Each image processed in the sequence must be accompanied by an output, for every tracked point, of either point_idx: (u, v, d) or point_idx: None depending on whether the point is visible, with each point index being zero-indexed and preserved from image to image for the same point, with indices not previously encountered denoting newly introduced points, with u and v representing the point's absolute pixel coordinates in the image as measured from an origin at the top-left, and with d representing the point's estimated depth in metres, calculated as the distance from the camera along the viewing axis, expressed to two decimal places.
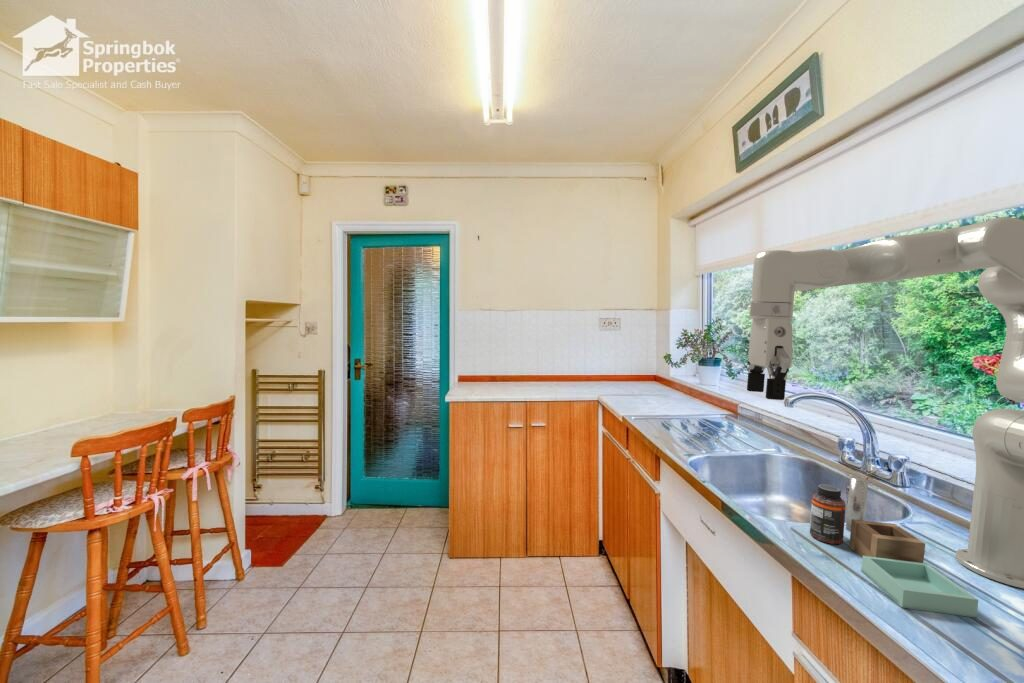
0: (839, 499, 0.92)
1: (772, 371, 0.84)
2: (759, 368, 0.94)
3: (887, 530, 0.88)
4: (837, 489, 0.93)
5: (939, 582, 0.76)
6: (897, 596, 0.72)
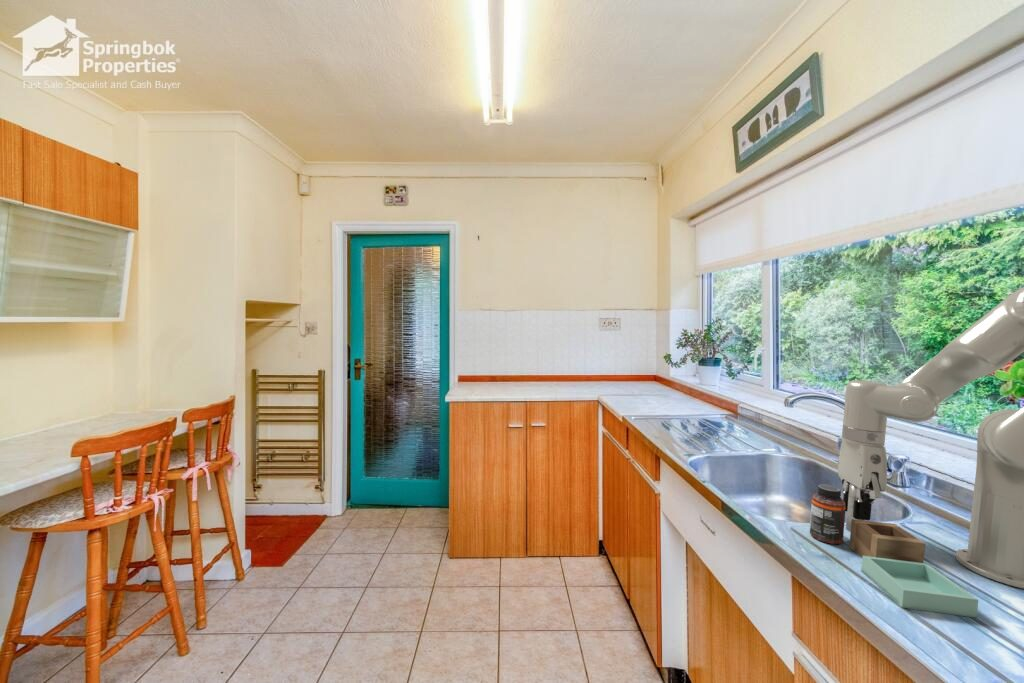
0: (839, 499, 0.92)
1: (861, 497, 0.95)
2: None
3: (887, 530, 0.88)
4: (837, 489, 0.93)
5: (939, 582, 0.76)
6: (897, 596, 0.72)
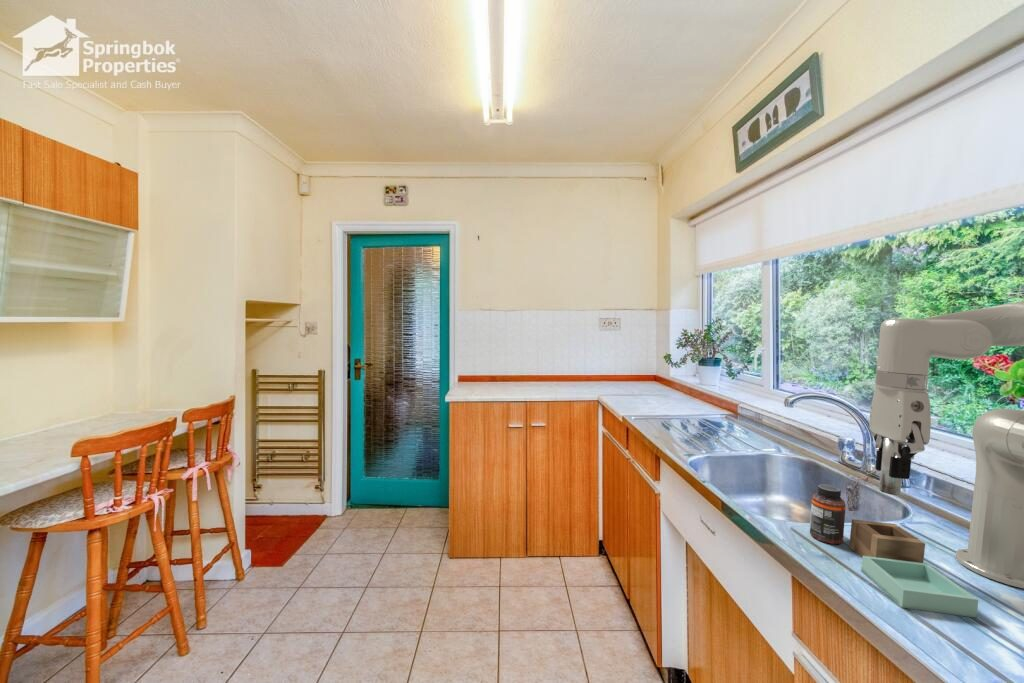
0: (839, 499, 0.92)
1: (899, 452, 0.82)
2: None
3: (887, 530, 0.88)
4: (837, 489, 0.93)
5: (939, 582, 0.76)
6: (897, 596, 0.72)
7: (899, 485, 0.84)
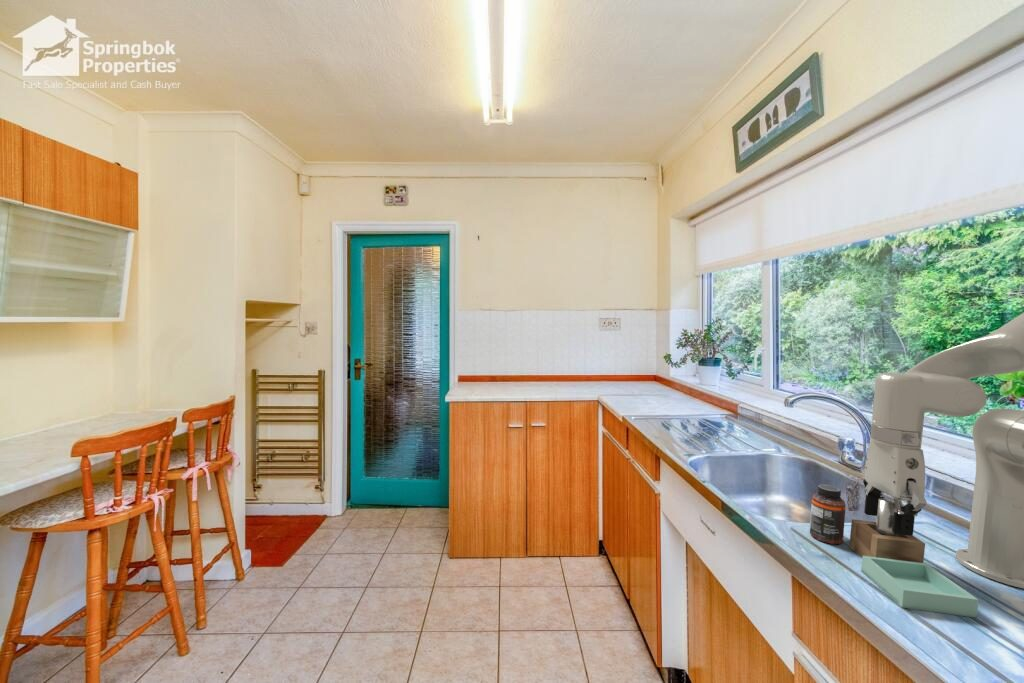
0: (839, 499, 0.92)
1: (901, 507, 0.81)
2: (878, 490, 0.90)
3: None
4: (837, 489, 0.93)
5: (939, 582, 0.76)
6: (897, 596, 0.72)
7: None
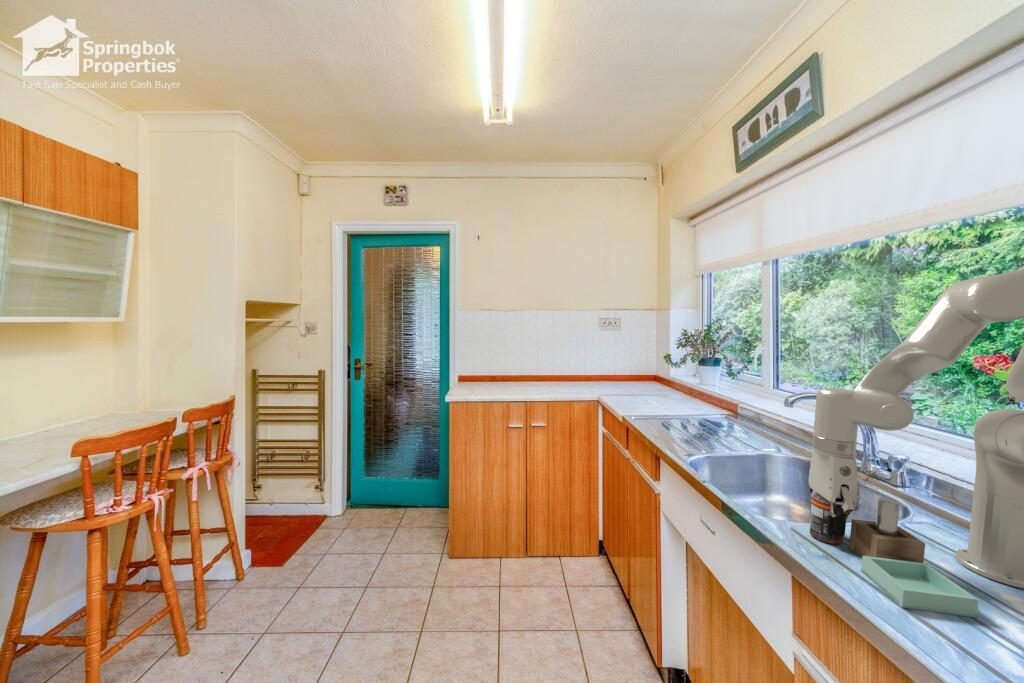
0: (839, 499, 0.92)
1: (834, 511, 0.90)
2: None
3: None
4: None
5: (939, 582, 0.76)
6: (897, 596, 0.72)
7: None
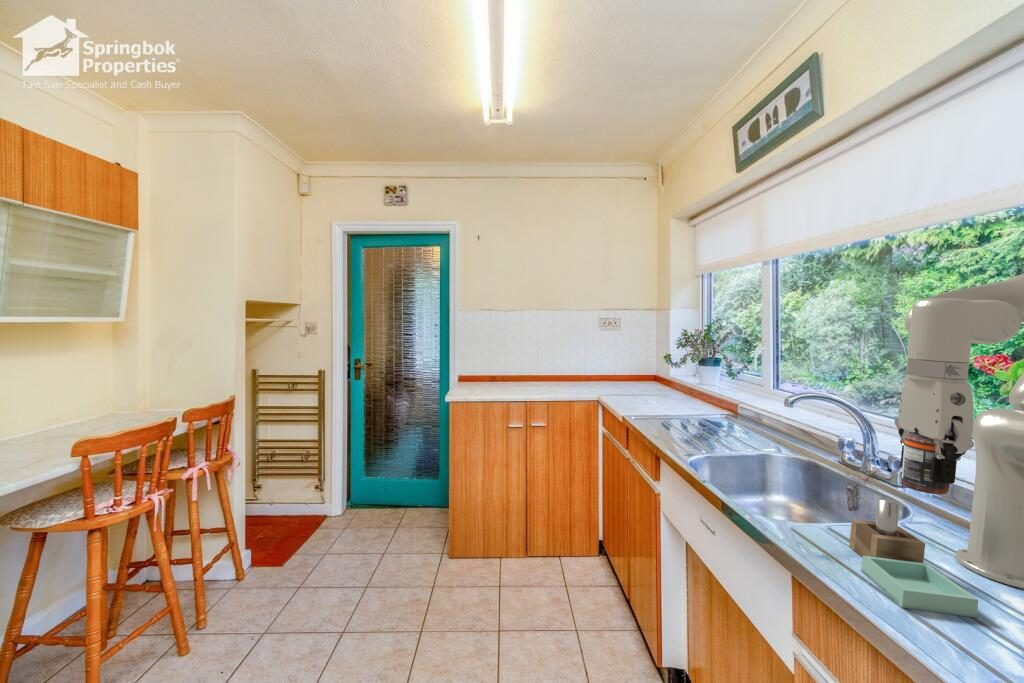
0: None
1: (942, 451, 0.70)
2: None
3: None
4: None
5: (939, 582, 0.76)
6: (897, 596, 0.72)
7: None
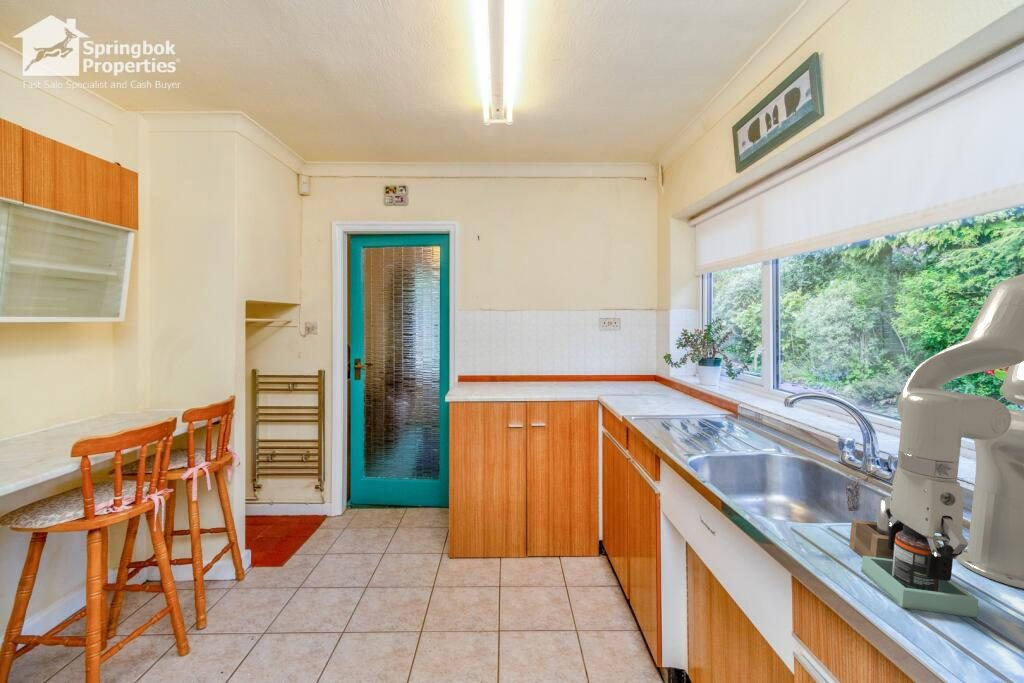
0: None
1: (937, 547, 0.70)
2: None
3: None
4: None
5: (939, 582, 0.76)
6: (897, 596, 0.72)
7: None
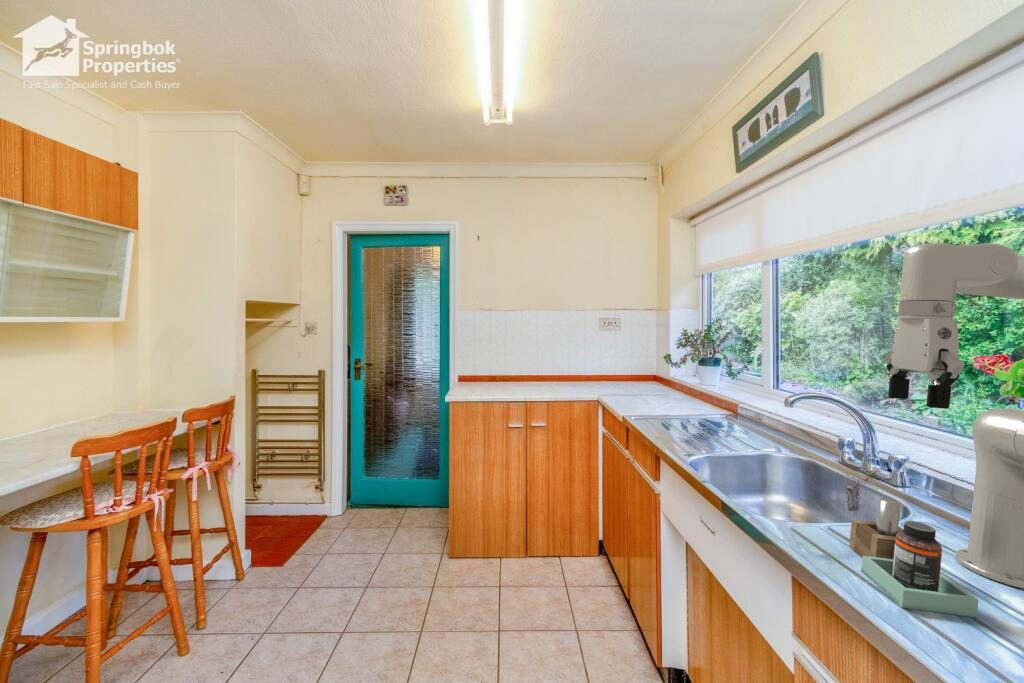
0: (934, 541, 0.73)
1: (936, 377, 0.76)
2: (902, 373, 0.86)
3: None
4: (930, 528, 0.74)
5: (939, 582, 0.76)
6: (897, 596, 0.72)
7: None
